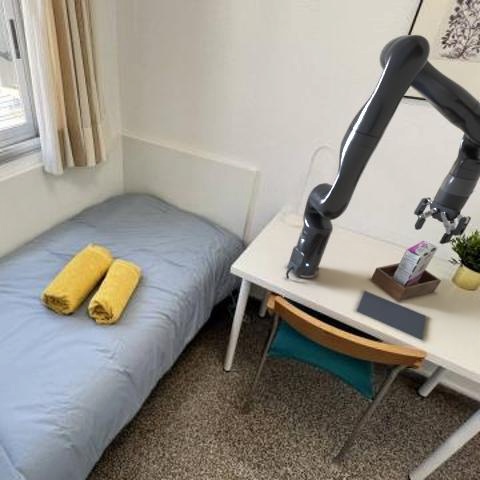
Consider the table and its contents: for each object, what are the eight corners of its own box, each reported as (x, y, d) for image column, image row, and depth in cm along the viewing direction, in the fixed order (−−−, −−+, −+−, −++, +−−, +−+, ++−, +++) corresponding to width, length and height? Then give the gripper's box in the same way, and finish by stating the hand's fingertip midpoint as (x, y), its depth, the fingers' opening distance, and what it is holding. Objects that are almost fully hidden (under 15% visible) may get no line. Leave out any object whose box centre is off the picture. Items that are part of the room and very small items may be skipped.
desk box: (397, 301, 115) (405, 289, 112) (370, 279, 124) (376, 267, 121) (433, 292, 120) (441, 280, 117) (404, 272, 129) (411, 260, 126)
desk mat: (421, 339, 102) (422, 338, 102) (356, 311, 111) (356, 310, 110) (425, 316, 110) (426, 315, 110) (364, 291, 119) (364, 290, 119)
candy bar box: (402, 277, 127) (423, 239, 118) (416, 285, 123) (439, 247, 114) (385, 287, 121) (406, 248, 112) (400, 295, 118) (422, 256, 109)
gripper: (424, 181, 106) (401, 226, 115) (471, 202, 95) (442, 250, 104) (441, 178, 108) (418, 223, 117) (490, 199, 97) (460, 246, 106)
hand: (429, 236), depth 111 cm, fingers open, 8 cm apart
